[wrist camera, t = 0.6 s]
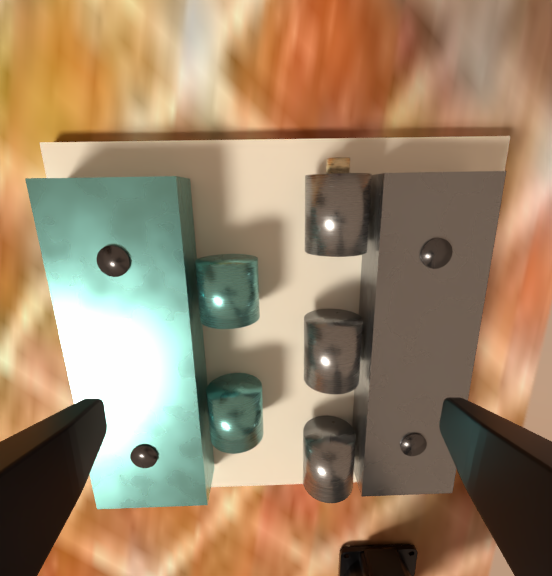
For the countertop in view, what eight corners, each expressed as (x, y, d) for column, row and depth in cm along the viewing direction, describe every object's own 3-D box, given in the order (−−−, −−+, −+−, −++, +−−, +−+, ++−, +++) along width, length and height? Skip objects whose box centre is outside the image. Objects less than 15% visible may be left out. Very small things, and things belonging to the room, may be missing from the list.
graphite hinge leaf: (429, 466, 25) (454, 508, 22) (300, 471, 25) (305, 513, 21) (472, 159, 19) (515, 152, 16) (301, 161, 19) (309, 155, 15)
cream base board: (446, 467, 26) (453, 478, 25) (115, 479, 26) (109, 490, 25) (498, 138, 19) (510, 135, 18) (51, 145, 19) (39, 142, 18)
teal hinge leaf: (265, 465, 24) (265, 508, 21) (117, 471, 24) (93, 515, 21) (256, 177, 19) (253, 174, 15) (63, 180, 18) (19, 178, 15)
